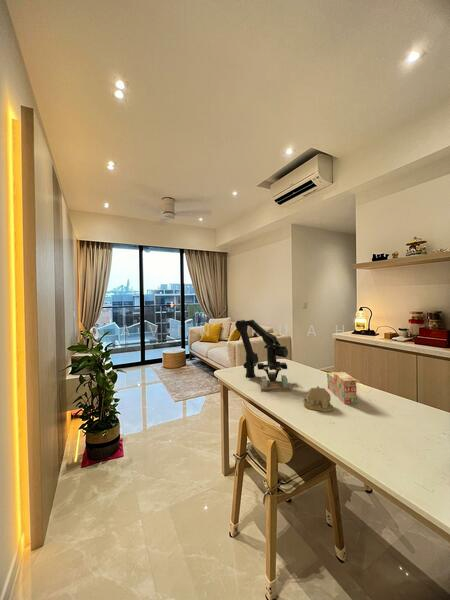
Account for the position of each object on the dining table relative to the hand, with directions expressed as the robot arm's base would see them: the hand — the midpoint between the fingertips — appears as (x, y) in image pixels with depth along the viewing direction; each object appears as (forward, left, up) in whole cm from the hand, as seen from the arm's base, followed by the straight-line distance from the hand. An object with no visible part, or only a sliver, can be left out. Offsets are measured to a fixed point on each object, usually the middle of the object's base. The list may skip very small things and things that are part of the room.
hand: (272, 379), depth 161 cm
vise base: (+11, 0, -1) cm, 11 cm away
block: (0, 0, -1) cm, 1 cm away
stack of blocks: (+24, +34, -1) cm, 42 cm away
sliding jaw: (+11, +6, 0) cm, 13 cm away
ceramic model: (+37, +18, -1) cm, 41 cm away
